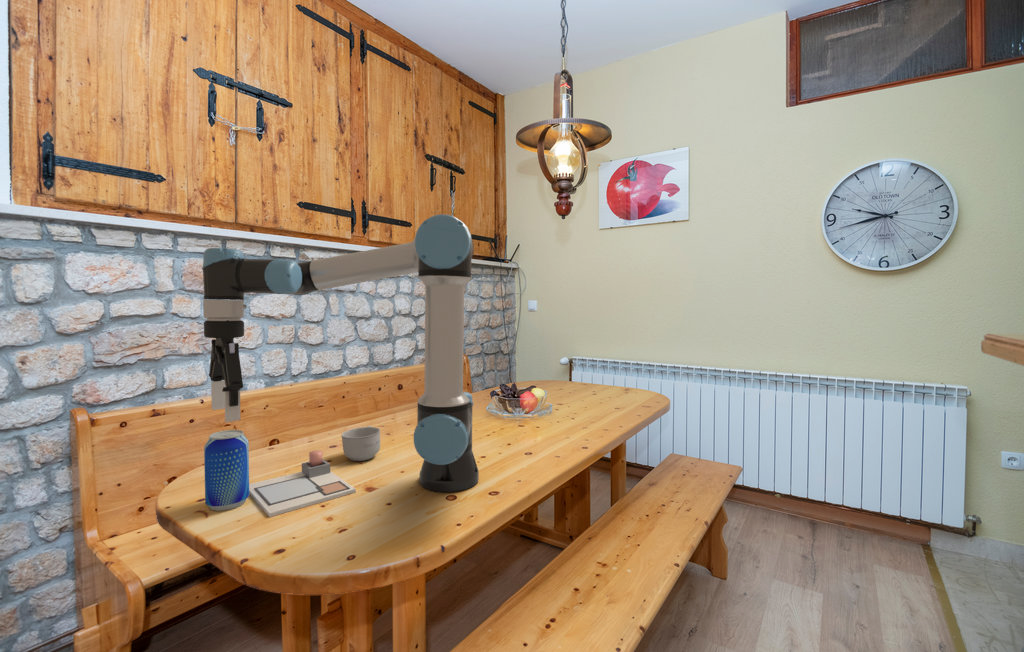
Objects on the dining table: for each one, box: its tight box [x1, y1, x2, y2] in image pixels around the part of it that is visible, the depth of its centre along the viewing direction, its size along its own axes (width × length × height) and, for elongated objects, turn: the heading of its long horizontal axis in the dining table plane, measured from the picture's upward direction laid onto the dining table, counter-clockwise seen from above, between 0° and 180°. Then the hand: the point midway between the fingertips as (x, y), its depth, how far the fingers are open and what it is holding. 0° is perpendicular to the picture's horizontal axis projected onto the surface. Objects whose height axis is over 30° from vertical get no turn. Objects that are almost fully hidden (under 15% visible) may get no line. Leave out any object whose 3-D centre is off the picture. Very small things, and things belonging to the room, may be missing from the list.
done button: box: [308, 449, 324, 466], centre depth 119 cm, size 3×3×3 cm
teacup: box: [340, 425, 381, 462], centre depth 134 cm, size 14×11×8 cm
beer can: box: [203, 429, 250, 512], centre depth 101 cm, size 8×8×16 cm
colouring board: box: [249, 458, 357, 518], centre depth 109 cm, size 20×19×3 cm
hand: (225, 414), depth 101 cm, fingers open, 13 cm apart
